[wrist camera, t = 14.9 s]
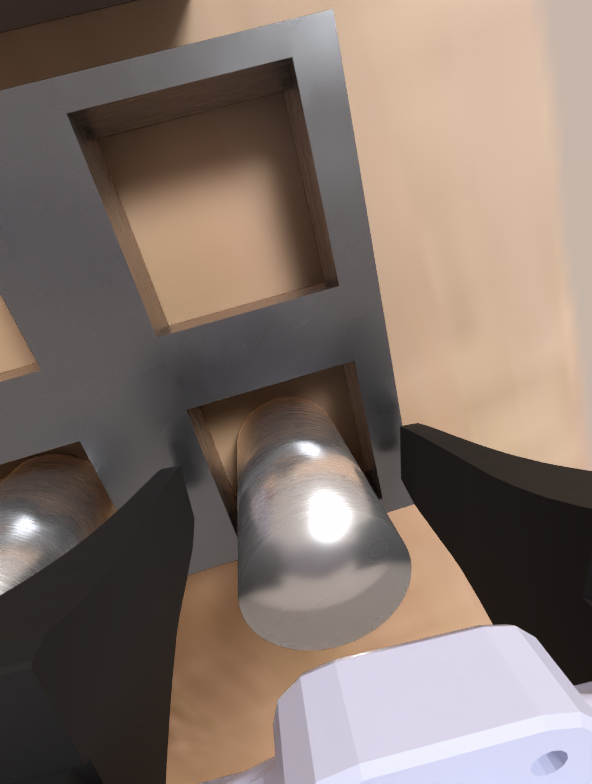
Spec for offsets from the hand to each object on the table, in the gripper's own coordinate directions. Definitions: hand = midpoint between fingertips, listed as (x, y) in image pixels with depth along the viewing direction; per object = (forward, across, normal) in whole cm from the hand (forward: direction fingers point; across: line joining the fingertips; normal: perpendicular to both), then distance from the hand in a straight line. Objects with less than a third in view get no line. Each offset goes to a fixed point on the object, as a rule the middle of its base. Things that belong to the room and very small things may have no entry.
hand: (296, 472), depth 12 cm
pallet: (+3, +5, -3) cm, 7 cm away
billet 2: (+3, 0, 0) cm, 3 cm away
